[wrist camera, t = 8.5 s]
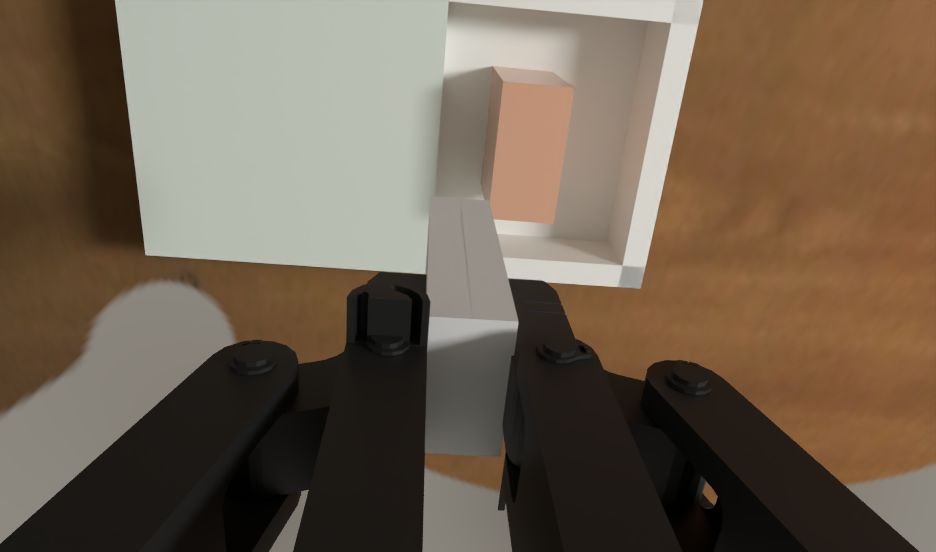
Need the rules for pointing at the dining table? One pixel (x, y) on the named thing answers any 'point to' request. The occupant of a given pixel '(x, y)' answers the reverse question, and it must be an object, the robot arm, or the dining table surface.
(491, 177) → the tile
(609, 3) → the box
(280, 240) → the white flat block
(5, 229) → the dining table surface
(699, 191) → the dining table surface
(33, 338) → the dining table surface
